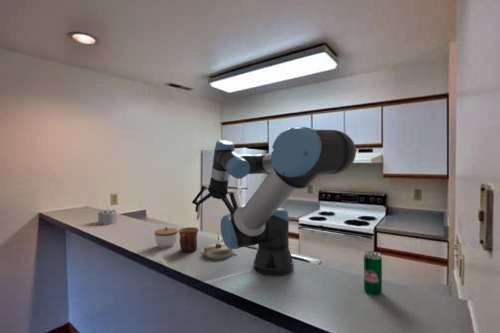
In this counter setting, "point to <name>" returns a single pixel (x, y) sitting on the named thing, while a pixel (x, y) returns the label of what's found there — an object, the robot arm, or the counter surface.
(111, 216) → the lumpy-topped squat cylinder
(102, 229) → the counter surface
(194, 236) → the mug
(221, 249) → the lid
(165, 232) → the lidded jar
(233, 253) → the mat
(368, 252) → the soda can
